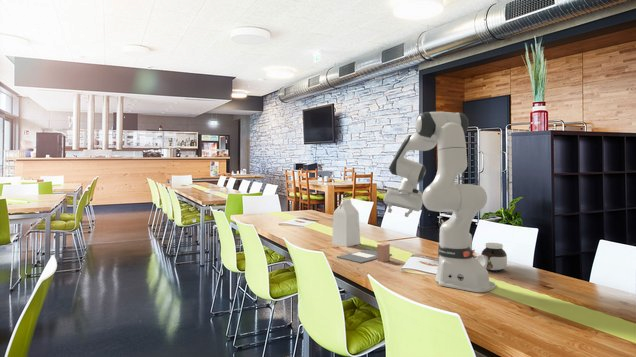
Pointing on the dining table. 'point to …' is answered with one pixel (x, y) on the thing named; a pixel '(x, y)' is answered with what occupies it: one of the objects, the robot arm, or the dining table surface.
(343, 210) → the milk
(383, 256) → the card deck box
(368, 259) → the charcoal mat
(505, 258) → the spread jar
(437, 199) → the robot arm
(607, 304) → the dining table surface
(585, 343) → the dining table surface
